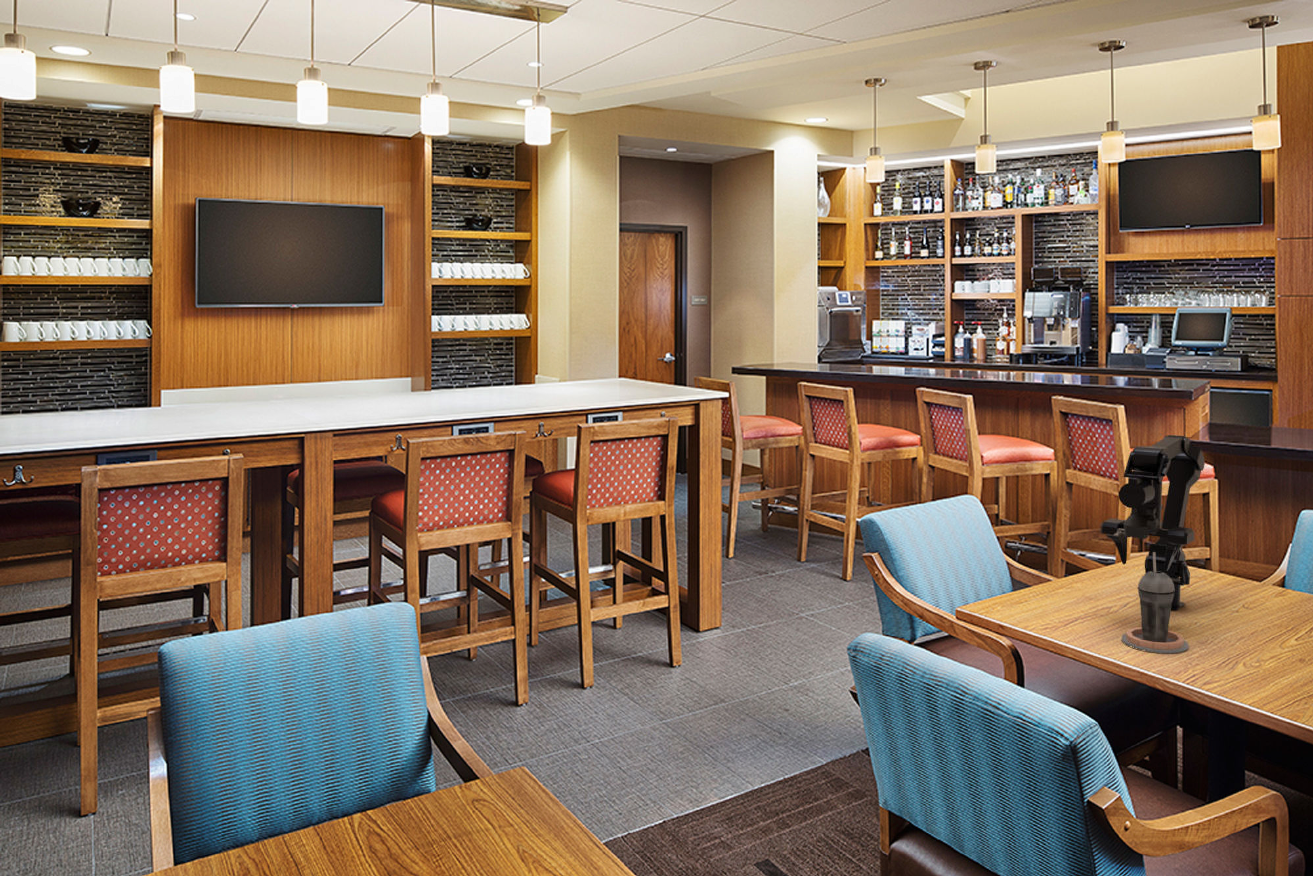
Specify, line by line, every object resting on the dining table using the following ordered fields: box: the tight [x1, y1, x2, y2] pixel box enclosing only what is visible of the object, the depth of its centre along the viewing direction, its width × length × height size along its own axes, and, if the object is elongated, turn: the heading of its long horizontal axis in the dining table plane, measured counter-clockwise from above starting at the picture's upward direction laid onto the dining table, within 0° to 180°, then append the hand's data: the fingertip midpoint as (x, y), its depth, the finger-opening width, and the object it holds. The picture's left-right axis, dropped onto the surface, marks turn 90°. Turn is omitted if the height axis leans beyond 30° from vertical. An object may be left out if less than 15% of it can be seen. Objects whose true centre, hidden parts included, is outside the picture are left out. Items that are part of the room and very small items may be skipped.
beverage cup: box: [1136, 552, 1175, 643], centre depth 206 cm, size 7×7×20 cm
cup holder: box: [1120, 626, 1189, 655], centre depth 207 cm, size 13×13×2 cm
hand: (1145, 567), depth 220 cm, fingers open, 9 cm apart
